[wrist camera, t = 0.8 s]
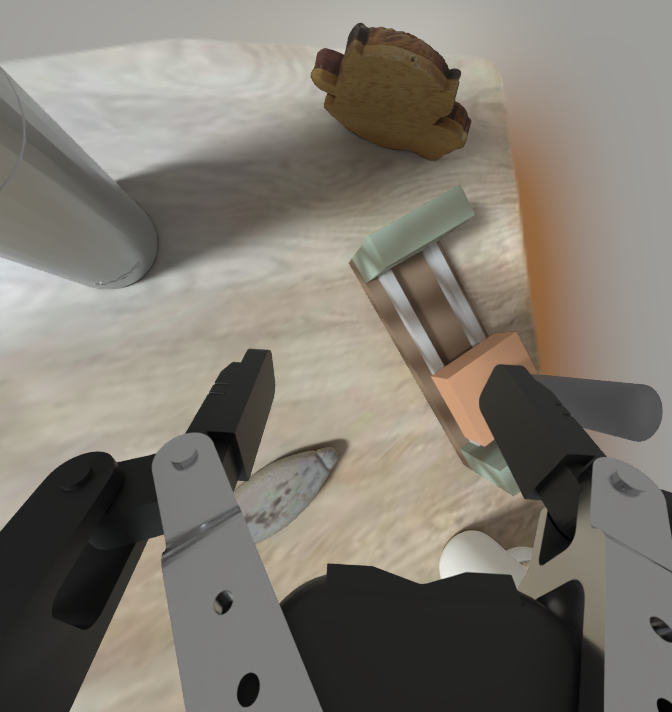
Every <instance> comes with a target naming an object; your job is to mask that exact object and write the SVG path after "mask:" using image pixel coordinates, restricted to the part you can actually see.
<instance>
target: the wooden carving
mask: <svg viewBox="0 0 672 712" xmlns="http://www.w3.org/2000/svg"><path fill="white" fill-rule="evenodd" d="M460 76H461V71H460V70H458V69H449V68H448V65H447V64H446V62H445V60H444V58H443V57H442V56H441V55H440V54H439V53H438V52H437V51H435V50H434V49H433V48H432V47H431V46H430V45H428V44H427V43H425V42H424V41H423V40H421V39H418V38H417V37H415V36H414V35H411V34H409V33H405V32H403V31H395V30H393V29H392V28H391V29H386V28H384V27H378V28H374V27H371V28H368V27H366V26H365V25H364V24H363V23H358V24H357V25H355V26H354V28H353V29H352V31H351V32H350V34H349V37H348V41H347V46H346V51H345V54H344V55H343V54H341V53H339V52H336V51H334V50H331V49H327V48H323V49H321V50H320V51H319V52H318V53H317V57H316V62H315V67H314V69H313V70H312V72H311V79H312V81H313V82H314V84H315V85H316V86H317V87H318V88H319V89H320V90H322V91H325V92H327V95H326V98H325V103H324V108H325V109H326V110H327V111H328V112H329V113H330V114H331V115H332V116H333V117H334V118H335V119H337V120H338V121H339V122H340V123H341V124H343V125H344V126H345V127H346V128H348V129H349V130H350V131H352V132H353V133H355V134H356V135H358V136H360V137H361V138H363V139H365V140H367V141H369V142H371V143H374V144H377V145H379V146H382V147H386V148H390V149H395V150H410V151H414V152H416V153H417V154H418V155H420V156H421V157H423V158H427V159H428V160H433V161H435V160H437V159H439V158H441V157H442V156H443V155H445V154H448V153H450V152H452V151H453V150H455V149H460V148H462V147H463V146H464V145H465V143H466V140H467V135H468V131H469V128H470V124H471V120H470V118H469V117H468V114H467V111H466V110H465V108H464V107H463V106H462V105H461V104H460V103H458V102H456V101H455V98H456V94H457V89H458V86H459V78H460Z"/></svg>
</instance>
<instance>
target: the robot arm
mask: <svg viewBox="0 0 672 712" xmlns="http://www.w3.org/2000/svg"><path fill="white" fill-rule="evenodd" d="M157 247H158V240H157V234H156V231H155V228H154V226H153V223H152V221H151V220H150V218H149V217H148V215H147V214H146V213H145V212H144V211H143V210H142V209H141V208H140V207H139V206H138V205H137V204H136V203H135V202H134V201H133V200H132V199H131V198H130V197H129V195H128V194H127V193H126V192H125V191H124V190H123V189H122V188H121V187H120V186H119V185H118V184H117V183H116V182H115V181H114V180H113V179H112V178H111V177H110V176H109V175H108V174H107V173H106V172H105V171H104V170H103V169H102V168H101V167H100V166H99V165H98V164H97V163H96V162H95V161H94V160H93V159H92V158H91V157H90V156H89V155H88V154H87V153H86V152H85V151H84V150H83V149H82V148H81V147H80V146H79V145H78V144H77V143H76V142H75V141H74V140H73V139H72V138H71V137H70V136H69V135H68V134H67V133H66V132H65V131H64V130H63V129H62V128H61V127H60V126H59V125H58V124H57V123H56V122H55V121H54V120H53V119H52V118H51V117H50V116H49V115H48V114H47V113H46V112H45V111H44V110H43V109H42V108H41V107H40V106H39V105H38V104H37V103H36V102H35V101H34V100H33V99H32V98H31V97H30V96H29V95H28V94H27V93H26V92H25V91H24V90H23V89H22V88H21V87H20V86H19V85H18V84H17V83H16V82H15V81H14V80H13V79H12V78H11V77H10V76H9V75H8V74H7V73H6V72H5V71H4V70H3V69H2V68H1V67H0V257H2V258H5V259H8V260H11V261H14V262H17V263H20V264H23V265H26V266H29V267H32V268H35V269H38V270H41V271H44V272H47V273H50V274H53V275H56V276H59V277H62V278H65V279H68V280H71V281H74V282H77V283H80V284H83V285H86V286H89V287H94V288H99V289H115V288H121V287H125V286H127V285H130V284H132V283H134V282H136V281H137V280H139V279H140V278H142V277H143V276H144V275H145V274H146V273H147V272H148V271H149V269H150V268H151V266H152V264H153V263H154V261H155V257H156V254H157ZM274 394H275V377H274V369H273V360H272V353H271V351H270V350H262V349H248V350H247V352H246V354H245V356H244V358H243V360H242V362H241V363H240V362H232V363H231V364H230V365H228V366H227V367H226V368H225V369H223V370H222V371H221V372H220V374H219V376H218V378H217V379H216V381H215V385H213V386H212V388H211V390H210V392H209V394H208V395H207V397H206V399H205V400H204V402H203V404H202V405H201V407H200V409H199V411H198V412H197V414H196V416H195V418H194V419H193V421H192V423H191V425H190V426H189V428H188V430H187V431H186V433H185V434H183V435H180V436H178V437H175V438H173V439H172V440H170V441H169V442H167V443H166V444H165V445H164V446H163V447H162V448H160V450H159V451H158V452H157V453H156V454H153V455H149V456H144V457H140V458H135V459H131V460H126V461H121V462H116V461H115V460H114V458H113V457H112V456H111V455H110V454H108V453H105V452H89V453H85V454H82V455H79V456H77V457H74V458H72V459H70V460H68V461H66V462H65V463H63V464H62V465H60V466H59V467H57V468H56V469H55V470H54V471H53V472H51V473H50V474H49V475H48V476H47V478H46V479H45V480H44V481H43V482H42V483H41V484H40V486H39V487H38V488H37V489H36V490H35V491H34V493H33V494H32V495H31V496H30V497H29V499H28V500H27V501H26V502H25V503H24V504H23V506H22V507H21V508H20V509H19V510H18V511H17V513H16V514H15V515H14V516H13V517H12V518H11V520H10V521H9V522H8V523H7V524H6V525H5V527H4V528H3V529H2V530H1V531H0V712H69V711H70V709H71V707H72V705H73V703H74V700H75V698H76V696H77V694H78V692H79V689H80V687H81V685H82V683H83V681H84V679H85V676H86V674H87V672H88V670H89V668H90V665H91V663H92V661H93V659H94V657H95V655H96V652H97V650H98V648H99V646H100V644H101V642H102V639H103V637H104V635H105V633H106V631H107V628H108V626H109V624H110V622H111V620H112V618H113V615H114V613H115V611H116V609H117V607H118V604H119V602H120V600H121V598H122V596H123V594H124V591H125V589H126V587H127V585H128V583H129V580H130V578H131V576H132V574H133V572H134V570H135V567H136V565H137V563H138V561H139V559H140V557H141V554H142V552H143V550H144V548H145V546H146V543H147V541H148V539H150V538H153V537H157V536H160V535H164V536H165V541H166V550H165V551H164V552H163V553H162V559H161V562H162V572H163V579H164V585H165V591H166V596H167V602H168V608H169V614H170V620H171V626H172V632H173V638H174V644H175V650H176V656H177V662H178V667H179V673H180V679H181V685H182V691H183V697H184V703H185V709H186V712H672V493H671V492H667V491H664V490H661V489H659V487H658V486H657V485H656V484H655V483H654V482H653V481H652V480H651V479H650V478H649V477H648V476H646V475H645V474H644V473H643V472H641V471H640V470H638V469H637V468H635V467H633V466H631V465H629V464H628V463H625V462H623V461H621V460H617V459H614V458H608V457H606V456H605V454H604V453H603V452H602V451H601V450H600V448H599V447H598V446H597V445H596V444H595V443H594V441H593V440H592V439H591V438H590V436H589V435H588V434H587V433H586V432H585V431H584V429H583V428H582V427H581V426H580V424H579V423H578V422H577V421H576V420H575V418H574V417H571V414H570V413H569V411H568V410H567V409H566V408H565V407H564V406H562V403H561V402H560V401H559V399H558V398H557V397H556V396H555V395H554V393H553V392H552V391H550V390H549V389H548V388H546V387H545V386H544V385H542V384H541V383H540V382H538V381H536V380H535V379H534V378H533V377H532V375H531V374H530V373H529V372H528V370H527V369H526V368H525V367H524V366H521V365H506V364H498V365H496V366H495V367H494V369H493V371H492V373H491V375H490V377H489V379H488V381H487V383H486V384H485V386H484V388H483V390H482V392H481V394H480V398H479V408H480V411H481V413H482V415H483V417H484V419H485V421H486V423H487V425H488V427H489V429H490V431H491V433H492V435H493V437H494V439H495V441H496V443H497V445H498V447H499V449H500V451H501V453H502V455H503V457H504V459H505V461H506V463H507V465H508V467H509V469H510V471H511V473H512V475H513V477H514V479H515V481H516V483H517V485H518V487H519V489H520V491H521V493H522V495H523V497H524V499H532V500H542V501H543V503H544V505H545V507H544V508H543V509H542V510H541V512H540V516H539V521H538V526H537V531H536V536H535V541H534V546H533V551H532V556H531V561H530V565H529V568H528V571H527V573H526V575H525V577H524V578H523V579H522V581H521V583H520V585H519V587H518V589H517V588H516V585H515V582H514V580H513V577H512V575H508V574H492V573H476V572H464V573H461V574H458V575H454V576H451V577H447V578H444V579H441V580H437V581H434V582H431V583H427V584H419V583H416V582H413V581H410V580H408V579H405V578H402V577H400V576H397V575H394V574H392V573H389V572H387V571H384V570H381V569H379V568H376V567H373V566H361V565H344V564H327V575H324V576H320V577H317V578H314V579H312V580H310V581H308V582H306V583H304V584H302V585H301V586H299V587H298V588H296V589H295V590H294V591H292V592H291V593H290V594H289V595H288V596H286V597H285V598H284V599H283V600H282V601H281V602H280V604H279V602H278V600H277V597H276V595H275V592H274V590H273V588H272V585H271V583H270V580H269V578H268V575H267V573H266V570H265V568H264V565H263V563H262V560H261V558H260V556H259V553H258V551H257V548H256V546H255V543H254V541H253V538H252V536H251V533H250V531H249V528H248V526H247V524H246V521H245V519H244V516H243V514H242V511H241V509H240V507H239V505H238V503H237V500H236V498H235V496H234V490H235V487H236V484H237V481H249V478H250V475H251V472H252V468H253V465H254V462H255V458H256V455H257V452H258V448H259V445H260V442H261V438H262V435H263V432H264V429H265V425H266V422H267V419H268V415H269V412H270V409H271V405H272V402H273V399H274Z"/></svg>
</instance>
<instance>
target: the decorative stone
mask: <svg viewBox="0 0 672 712" xmlns="http://www.w3.org/2000/svg"><path fill="white" fill-rule="evenodd" d="M337 459H338V455H337V452H336V451H335V449H334V448H333V447H326V448H321V449H318V450H317V451H314V450H311V451H306V452H302V453H298V454H295V455H291V456H288V457H285V458H282V459H280V460H277V461H275V462H273V463H271V464H269V465H267V466H266V467H264V468H263V469H261V470H260V471H258V472H256V473H255V474H254V475H252V476H251V477H250V478H249V481H244V482H243V483H242V484H241V485H240V486H239V487H238V488H236V489H235V490H234V496H235V498H236V500H237V503H238V505H239V507H240V509H241V511H242V514H243V516H244V519H245V521H246V524H247V526H248V528H249V531H250V533H251V536H252V538H253V541H254V543H255V544H257V543H259V542H261V541H263V540H264V539H267V538H269V537H271V536H272V535H274V534H276V533H277V532H279V531H280V530H282V529H283V528H284V527H286V526H287V525H289V524H290V523H291V522H292V521H293V520H294V519H296V518H297V517H298V515H299V514H300V513H301V512H303V510H305V508H306V507H307V506H308V505H309V504H310V502H311V501H312V500H313V498H314V497H315V496H316V494H317V493H318V491H319V489H320V488H321V486H322V485H323V483H324V482H325V480H326V478H327V477H328V475H329V470H330V469H332V468H333V467H334V465H335V463H336V461H337Z"/></svg>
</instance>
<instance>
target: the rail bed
mask: <svg viewBox="0 0 672 712" xmlns="http://www.w3.org/2000/svg"><path fill="white" fill-rule="evenodd" d="M474 215H475V214H474V212H473V210H472V208H471V206H470V204H469V202H468V200H467V198H466V196H465V194H464V192H463V190H462V188H461V186H460V185H459V186H457V187H455V188H453V189H452V190H450V191H448V192H446V193H444V194H443V195H441V196H439V197H437V198H436V199H434V200H432V201H430V202H428V203H427V204H425V205H423V206H421V207H419V208H418V209H416V210H414V211H412V212H411V213H409V214H407V215H405V216H403V217H402V218H400V219H398V220H396V221H394V222H393V223H391V224H389V225H387V226H386V227H384V228H382V229H380V230H378V231H377V232H375V233H373V234H371V235H370V236H369V237H368V238H367V240H366V241H365V242H364V243H363V245H362V246H361V247H360V249H359V250H358V251H357V253H356V254H355V255H354V257H353V258H352V259H351V261H350V262H349V264H350V266H351V268H352V269H353V271H354V273H355V275H356V276H357V278H358V280H359V282H360V283H361V285H362V287H363V289H364V291H365V292H366V294H367V296H368V298H369V299H370V301H371V303H372V305H373V306H374V308H375V310H376V312H377V313H378V315H379V317H380V319H381V320H382V322H383V324H384V326H385V327H386V329H387V331H388V333H389V334H390V336H391V338H392V340H393V341H394V343H395V345H396V347H397V348H398V350H399V352H400V354H401V355H402V357H403V359H404V361H405V362H406V364H407V366H408V368H409V369H410V371H411V373H412V375H413V377H414V378H415V380H416V382H417V384H418V385H419V387H420V389H421V391H422V392H423V394H424V396H425V398H426V399H427V401H428V403H429V405H430V406H431V408H432V410H433V412H434V413H435V415H436V417H437V419H438V420H439V422H440V424H441V426H442V427H443V429H444V431H445V433H446V434H447V436H448V438H449V440H450V441H451V443H452V445H453V447H454V448H455V450H456V452H457V454H458V455H459V457H460V459H461V461H462V462H463V464H464V465H465V466H467V467H468V468H470V469H471V470H473V471H474V472H476V473H478V474H479V475H481V476H482V477H484V478H486V479H487V480H489V481H490V482H492V483H493V484H495V485H497V486H498V487H500V488H501V489H503V490H505V491H506V492H508V493H509V494H511V495H512V496H515V495H516V494H517V493H519V492H520V489H519V487H518V485H517V483H516V481H515V479H514V477H513V475H512V473H511V471H510V469H509V467H508V465H507V463H506V461H505V459H504V457H503V455H502V453H501V451H500V449H499V447H498V445H497V443H496V441H495V439H494V440H493V441H492V442H490V443H489V444H488V445H486V446H485V447H484V446H482V445H480V444H478V443H476V442H474V441H472V440H470V439H467V438H465V436H464V434H463V433H462V431H461V429H460V427H459V426H458V424H457V422H456V420H455V418H454V417H453V415H452V413H451V411H450V409H449V408H448V406H447V404H446V402H445V401H444V399H443V397H442V395H441V393H440V392H439V390H438V388H437V386H436V385H435V383H434V381H433V379H432V377H431V376H432V375H434V374H435V373H436V372H438V371H439V370H441V369H442V368H444V367H445V366H447V365H448V364H450V363H451V362H453V361H454V360H456V359H457V358H458V357H460V356H461V355H463V354H464V353H466V352H467V351H469V350H470V349H472V348H473V347H475V346H476V345H477V344H479V343H480V342H482V341H483V340H485V339H486V338H488V337H489V336H488V334H487V332H486V330H485V328H484V326H483V324H482V322H481V321H480V319H479V317H478V315H477V313H476V311H475V309H474V307H473V305H472V303H471V301H470V299H469V298H468V296H467V294H466V292H465V290H464V288H463V286H462V284H461V282H460V280H459V278H458V276H457V275H456V273H455V271H454V269H453V267H452V265H451V263H450V261H449V259H448V257H447V255H446V253H445V252H444V250H443V248H442V246H441V244H440V242H439V240H440V239H442V238H443V237H445V236H446V235H447V234H449V233H450V232H452V231H453V230H454V229H456V228H457V227H459V226H460V225H462V224H463V223H464V222H466V221H467V220H469V219H470V218H471V217H473V216H474Z"/></svg>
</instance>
